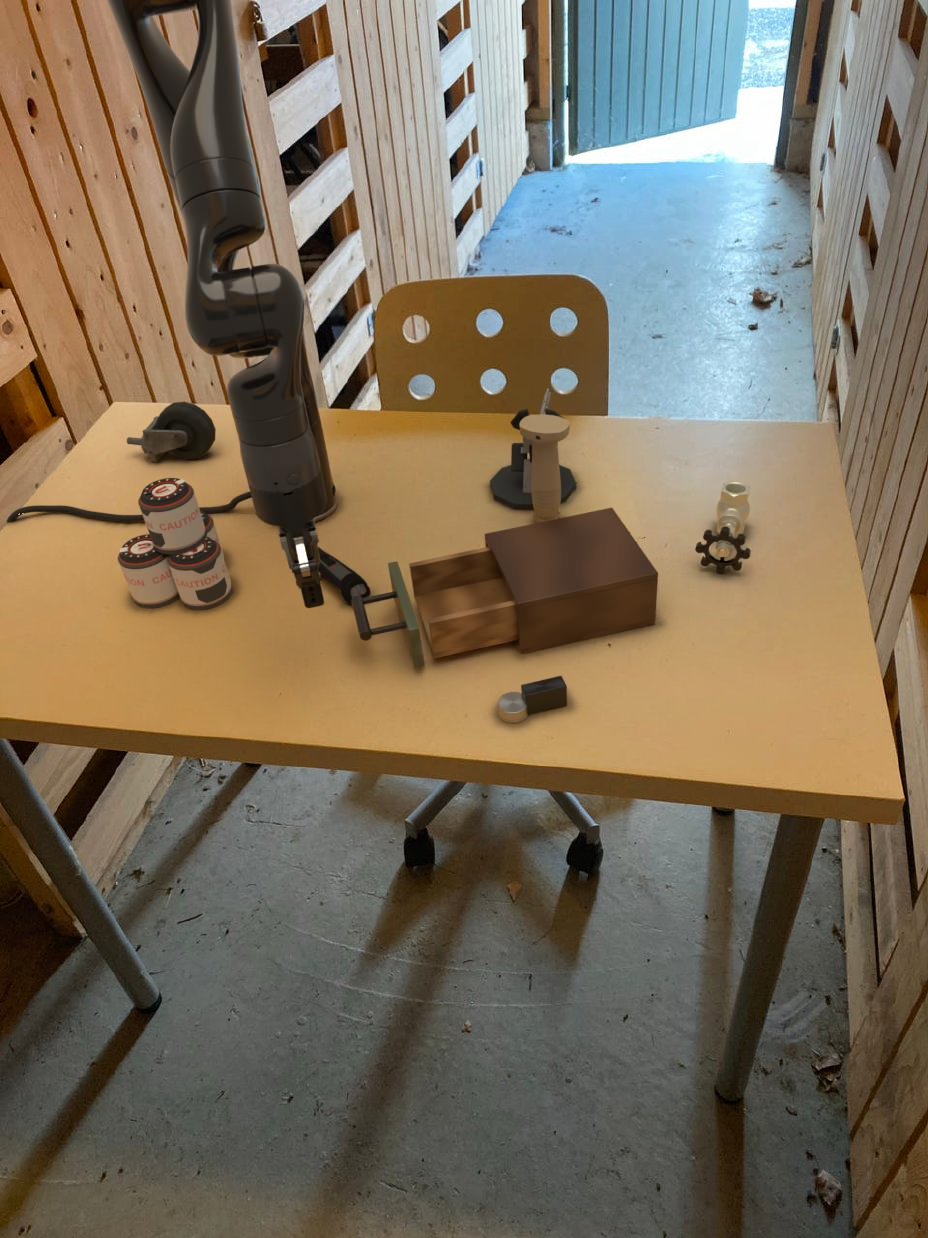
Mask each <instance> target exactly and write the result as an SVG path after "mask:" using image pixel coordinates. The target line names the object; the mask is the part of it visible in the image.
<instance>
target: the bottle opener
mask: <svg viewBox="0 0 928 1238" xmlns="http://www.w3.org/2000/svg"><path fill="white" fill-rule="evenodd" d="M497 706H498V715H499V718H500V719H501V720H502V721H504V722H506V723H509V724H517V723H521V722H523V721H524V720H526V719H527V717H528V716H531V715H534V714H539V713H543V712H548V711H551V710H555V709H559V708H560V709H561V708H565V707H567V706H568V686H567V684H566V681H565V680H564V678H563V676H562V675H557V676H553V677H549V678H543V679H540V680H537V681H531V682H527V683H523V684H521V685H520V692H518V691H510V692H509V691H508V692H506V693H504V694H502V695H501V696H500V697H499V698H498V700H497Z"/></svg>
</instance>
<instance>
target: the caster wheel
mask: <svg viewBox="0 0 928 1238" xmlns="http://www.w3.org/2000/svg"><path fill="white" fill-rule="evenodd" d="M216 432H217V431H216V427H215V424H214V422H213V419H212V418H211V417H210V415H209V414H208V413H207V412H206V411H205V410H204V409H203V408H201V407H199V406H198V405H196V404H195V403H190V402H187V401H178V402H172V403H170V404H169V405H167V406H166V407H165V408H163V410H162V411H161V412H160V413H159V415H158V416H157V415H156V416H154V417H153V420H152V421H151V422H150V424H148V426H147V427H146V428H145V429H143V430H142V436H141V437H131V436H128V437H127V438H126V444H127V445H134V446H141V447H140V448H141V450H142V452H143V453H144V454H146V455H147V457H149V459H150V461H151V462H157V463H158V462H159V461H160V460H161V458H162V457H163V456H164V455H165V453H167V452H169V453H170V454H172V455H173V456H175V457H177V458H181V459H184V460H196V459H200V458H202V457H203V456H205V455H206V454H207V453H208V452H209V450H210V449H211V448H212V446H213V445H214V443H215V441H216Z"/></svg>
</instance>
